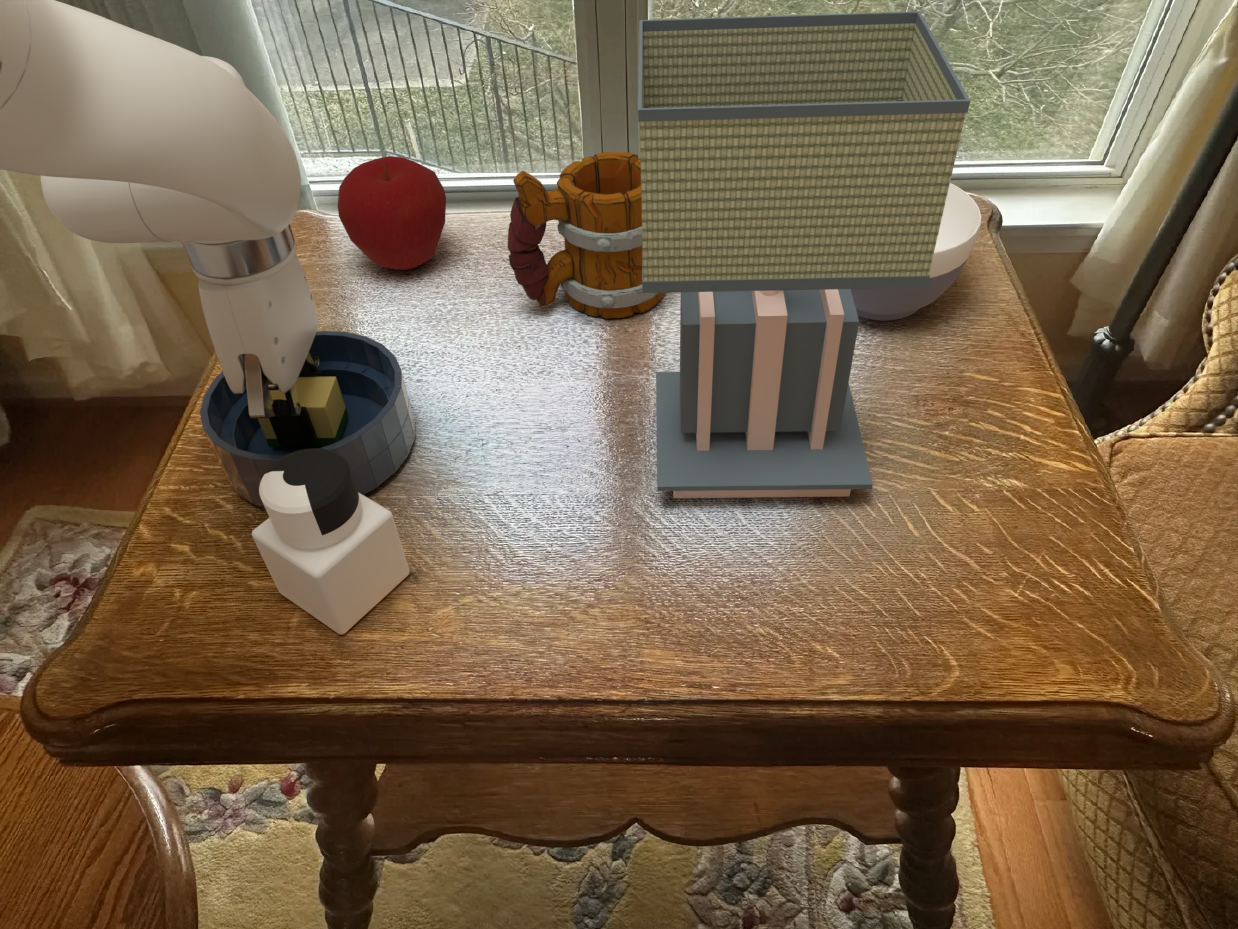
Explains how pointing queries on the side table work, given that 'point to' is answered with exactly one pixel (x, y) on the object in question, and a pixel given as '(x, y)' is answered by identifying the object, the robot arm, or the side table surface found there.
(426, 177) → the apple
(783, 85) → the desk lamp
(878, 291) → the bowl
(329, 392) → the sponge
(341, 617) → the medicine bottle
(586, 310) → the mug
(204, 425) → the bowl
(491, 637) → the side table surface
